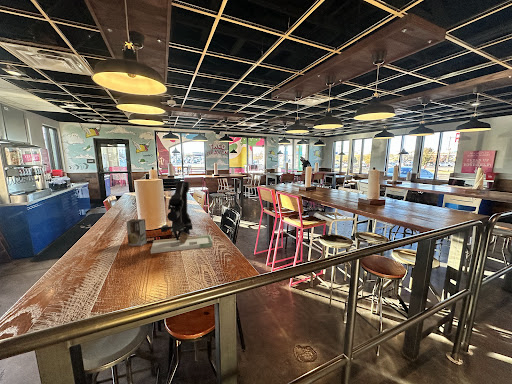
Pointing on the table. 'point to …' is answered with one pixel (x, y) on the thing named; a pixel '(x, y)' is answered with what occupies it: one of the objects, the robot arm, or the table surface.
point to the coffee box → (136, 232)
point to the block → (183, 237)
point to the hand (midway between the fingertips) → (177, 240)
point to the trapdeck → (181, 244)
